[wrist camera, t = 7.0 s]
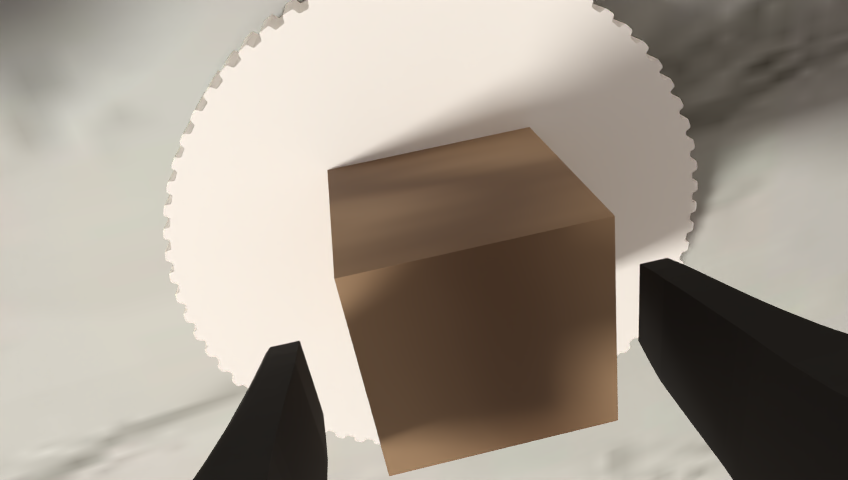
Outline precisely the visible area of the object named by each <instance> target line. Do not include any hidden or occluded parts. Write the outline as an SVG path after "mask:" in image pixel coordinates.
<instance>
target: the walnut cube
mask: <svg viewBox="0 0 848 480" xmlns="http://www.w3.org/2000/svg"><path fill="white" fill-rule="evenodd" d="M327 173H328V189H329V204H330V220H331V236H332V252H333V267H334V280H335V283H336V287H337V291H338V294H339V298H340V301H341V305H342V308H343V312H344V316H345V319H346V323H347V326H348V330H349V333H350V337H351V341H352V344H353V348H354V351H355V355H356V358H357V362H358V366H359V369H360V373H361V376H362V380H363V384H364V387H365V391H366V394H367V398H368V401H369V405H370V409H371V412H372V416H373V419H374V423H375V426H376V430H377V434H378V437H379V441H380V444H381V448H382V451H383V455H384V459H385V462H386V466H387V469H388V473H389V476H392V475H396V474H400V473H404V472H408V471H412V470H416V469H420V468H424V467H428V466H432V465H437V464H441V463H445V462H449V461H453V460H457V459H461V458H465V457H469V456H473V455H478V454H482V453H486V452H490V451H494V450H498V449H502V448H506V447H510V446H514V445H518V444H523V443H527V442H531V441H535V440H539V439H543V438H547V437H551V436H555V435H559V434H564V433H568V432H572V431H576V430H580V429H584V428H588V427H592V426H596V425H600V424H604V423H609V422H613V421H617V420H618V399H617V331H616V262H615V216H614V214H613V213H612V212H611V211H610V210H609V209H608V208H607V207H606V206H605V205H604V204H603V203H602V202H601V201H600V200H599V199H598V198H597V197H596V196H595V195H594V194H593V193H592V192H591V191H590V189H589V188H588V187H587V186H586V185H585V184H584V183H583V182H582V181H581V180H580V179H579V178H578V177H577V176H576V175H575V174H574V173H573V172H572V171H571V170H570V169H569V168H568V167H567V166H566V164H565V163H564V162H563V161H562V160H561V159H560V158H559V157H558V156H557V155H556V154H555V153H554V152H553V151H552V150H551V149H550V148H549V147H548V146H547V145H546V144H545V143H544V142H543V141H542V139H541V138H540V137H539V136H538V135H537V134H536V133H535V132H534V131H533V130H532V129H531V128H530V127H527V128H522V129H518V130H513V131H508V132H504V133H499V134H494V135H489V136H485V137H480V138H475V139H471V140H466V141H461V142H457V143H452V144H447V145H442V146H438V147H433V148H428V149H424V150H419V151H414V152H410V153H405V154H400V155H395V156H391V157H386V158H381V159H377V160H372V161H367V162H362V163H358V164H353V165H348V166H344V167H339V168H334V169H330V170H327Z"/></svg>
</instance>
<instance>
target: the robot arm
mask: <svg viewBox="0 0 848 480" xmlns="http://www.w3.org/2000/svg"><path fill="white" fill-rule="evenodd" d="M638 341H639V342H640V344H641V346H642V348H643V350H644V352H645V354H646V356H647V358H648V359H649V361H650V363H651V365H652V367H653V368H654V370H655V372H656V374H657V375H658V377H659V379H660V381H661V382H662V383H663V385H664V386H665V388H666V389H667V390H668V392H669V393H670V394H671V396H672V397H673V399H674V400H675V401H676V403H677V404H678V405H679V407H680V408H681V409H682V411H683V412H684V413H685V415H686V416H687V417H688V419H689V420H690V422H691V423H692V424H693V426H694V427H695V428H696V430H697V431H698V432H699V434H700V435H701V436H702V438H703V439H704V440H705V442H706V443H707V444H708V446H709V447H710V448H711V450H712V451H713V452H714V454H715V455H716V456H717V458H718V459H719V460H720V462H721V463H722V464H723V466H724V467H725V469H726V470H727V472H728V473H729V474H730V476H731V477H732V479H733V480H848V334H846V333H843V332H840V331H837V330H834V329H831V328H828V327H826V326H823V325H820V324H817V323H815V322H812V321H810V320H807V319H805V318H802V317H800V316H797V315H795V314H792V313H789V312H787V311H784V310H782V309H780V308H777V307H775V306H773V305H770V304H768V303H766V302H763V301H761V300H759V299H757V298H754V297H752V296H750V295H748V294H746V293H743V292H741V291H739V290H737V289H735V288H733V287H730V286H728V285H726V284H724V283H722V282H720V281H718V280H716V279H713V278H711V277H709V276H707V275H705V274H703V273H701V272H699V271H697V270H694V269H692V268H690V267H688V266H686V265H684V264H681V263H679V262H677V261H674V260H672V259H669V258H664V259H660V260H655V261H651V262H646V263H642V264H640V275H639V338H638ZM327 467H328V457H327V445H326V434H325V424H324V414H323V411H322V408H321V405H320V401H319V398H318V395H317V392H316V389H315V386H314V383H313V380H312V377H311V374H310V371H309V368H308V364H307V361H306V358H305V355H304V352H303V349H302V346H301V343H300V341H295V342H291V343H286V344H282V345H277V346H273V347H270V348H269V349H268V351H267V352H266V354H265V356H264V358H263V360H262V362H261V364H260V366H259V368H258V370H257V372H256V374H255V376H254V378H253V380H252V382H251V384H250V386H249V388H248V390H247V392H246V394H245V396H244V398H243V400H242V401H241V403H240V405H239V407H238V409H237V410H236V412H235V414H234V416H233V417H232V419H231V421H230V423H229V425H228V426H227V428H226V430H225V431H224V433H223V435H222V436H221V438H220V439H219V441H218V442H217V444H216V446H215V447H214V449H213V450H212V452H211V454H210V455H209V457H208V458H207V460H206V461H205V463H204V464H203V466H202V467H201V469H200V470H199V472H198V473H197V474H196V476H195V477H194V479H193V480H327Z"/></svg>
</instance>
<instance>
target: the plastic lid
mask: <svg viewBox="0 0 848 480" xmlns="http://www.w3.org/2000/svg"><path fill="white" fill-rule="evenodd" d="M613 17H614V14H613V13H612V12H611V11H609V10H608V9H606V8H604V7H601V6H598V5H596V4H593V0H306V1H304V2H302V3H299V2H298V1H297V0H292V1H290V2H289V3H287V4H286V6H285V10H284V14H283V15H282V16H281V17H280V18H278V17H276V16H275V15H271V16H269V17H268V18H267V19H266V20H265V21H264V23H263V26H262V28H261V31H260V34H256V33H255V32H251V33H250V34H249V35H248V36H247V37H246V38H245V40H244V42H243V44H242V46H241V48H240V50H239V52H238V51H233V52H232V53H231V54H230V56H229V57H228V58H227V60H226V62H225V64H224V66H223V68H222V70H221V71H217V73H216V74H215V76H214V77H213V79H212V81H211V83H210V84H209V86H208V88H207V90H206V92H204V94H203V96H202V97H201V99H200V101H199V103H198V105H197V107H196V108H195V110H194V112H193V114H192V116H191V118H190V122H189V123H188V125H187V127H186V129H185V131H184V133H183V134H182V137H181V139H180V142H179V144H180V145H181V146H180V147H179V149H178V151H177V153H176V155H175V157H174V159H173V162H172V166H171V168H172V169H174V171H173V173H172V175H171V177H170V179H169V181H168V183H167V188H166V192H167V193H169V194H170V195H169V197H168V199H167V201H166V204H165V206H164V216H166V217H168V221H167V223H166V225H165V227H164V229H163V236H164V239H166V240H169V241H170V242H169V244H168V247H167V249H166V251H165V257H166V261H168V262H172V263H173V265H172V268H171V270H170V273H169V277H170V281H171V283H176V284H178V288H177V291H176V294H175V297H176V299H177V302H178V303H181V304H185V306H186V308H185V311H184V314H183V316H184V318H185V320H186V322H188V323H194V325H195V328H194V332H193V334H194V336H195V338H196V339H197V340H204V341H205V343H206V347H205V352H206V353H207V355H208V356H209V357H217V359H218V360H219V362H218V368H219V369H220V370H221V371H222V372H228V371H229V372H230V373H231V374H232V375H233V377H232V382H233V383H235V384H236V385H237V386H241V385H244V386H246V387H247V388H249V386H250V384H251V382H252V380H253V378H254V376H255V374H256V372H257V370H258V368H259V366H260V364H261V362H262V360H263V358H264V356H265V354H266V352H267V351H268V349H269V348H270V347H273V346H277V345H282V344H286V343H291V342H295V341H300V343H301V346H302V349H303V352H304V355H305V358H306V361H307V364H308V368H309V371H310V374H311V377H312V380H313V383H314V386H315V389H316V392H317V395H318V398H319V401H320V405H321V408H322V411H323V414H324V424H325V433H326V432H327V431H332V432H335V435H336V437H339V438H345V437H346V436H353V437H354V438H355V441H358V442H364V441H365V440H366V439H370V440H374V444H380V441H379V437H378V434H377V430H376V426H375V423H374V419H373V416H372V412H371V409H370V405H369V401H368V398H367V394H366V391H365V387H364V384H363V380H362V376H361V373H360V369H359V366H358V362H357V358H356V355H355V351H354V348H353V344H352V341H351V337H350V333H349V330H348V326H347V323H346V319H345V316H344V312H343V308H342V305H341V301H340V298H339V294H338V291H337V287H336V283H335V280H334V267H333V252H332V236H331V220H330V204H329V189H328V173H327V170H330V169H334V168H339V167H344V166H348V165H353V164H358V163H362V162H367V161H372V160H377V159H381V158H386V157H391V156H395V155H400V154H405V153H410V152H414V151H419V150H424V149H428V148H433V147H438V146H442V145H447V144H452V143H457V142H461V141H466V140H471V139H475V138H480V137H485V136H489V135H494V134H499V133H504V132H508V131H513V130H518V129H522V128H527V127H530V128H531V129H532V130H533V131H534V132H535V133H536V134H537V135H538V136H539V137H540V138H541V139H542V141H543V142H544V143H545V144H546V145H547V146H548V147H549V148H550V149H551V150H552V151H553V152H554V153H555V154H556V155H557V156H558V157H559V158H560V159H561V160H562V161H563V162H564V163H565V164H566V166H567V167H568V168H569V169H570V170H571V171H572V172H573V173H574V174H575V175H576V176H577V177H578V178H579V179H580V180H581V181H582V182H583V183H584V184H585V185H586V186H587V187H588V188H589V189H590V191H591V192H592V193H593V194H594V195H595V196H596V197H597V198H598V199H599V200H600V201H601V202H602V203H603V204H604V205H605V206H606V207H607V208H608V209H609V210H610V211H611V212H612V213H613V214H614V216H615V262H616V331H617V355H618V354H619V353H621V352H622V353H626V352H627V351H628V350H629V348H630V347H631V346H630V345H629V343H630V342H631V340H632V339H633V338H639V275H640V264H642V263H646V262H651V261H655V260H660V259H664V258H669V259H672V260H674V261H677V262H679V263H681V264H683V261H682V260H681V259H680V256H681V253H682V252H684V251H687V249H688V246H689V242H688V241H687V240H686V235H687V233H688V232H691V231H692V230H693V226H694V222H692V221H691V220H690V214H691V213H692V212H694V211H696V207H697V202H696V201H694V200H693V199H692V193H693V192H695V191H697V190H698V182H697V181H696V180H695V179H693V178H692V173H693V172H694V171H696V170H697V161H696V160H695V159H693V158H692V157H690V152H691V151H692V150H693V149H695V144H694V140H693V139H691V138H690V137H688V136H687V135H686V131H687V130H688V129H689V128H690V123H689V120H688V119H687V118H686V117H684V116H682V115H681V114H680V113H679V111H680V110H681V109H682V108H683V103H682V101H681V99H680V98H679V97H677V96H675V95H673V94H671V90H672V89H673V88H674V84H673V82H672V80H671V79H670V78H669V77H667V76H665V75H663V74H661V73H660V71H661V69H662V68H663V65H662V64H661V63H660V61H659V60H658V59H656V58H654V57H652V56H650V55H648V54H646V53H647V51H648V49H649V47H648V46H647V45H646V43H645V42H644V41H642V40H640V39H637V38H635V37H633V36H631V34H632V31H633V30H632V29H631V28H630V27H629V26H628V25H627V24H625V23H622V22H620V21H617V20H615V19H613Z"/></svg>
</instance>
